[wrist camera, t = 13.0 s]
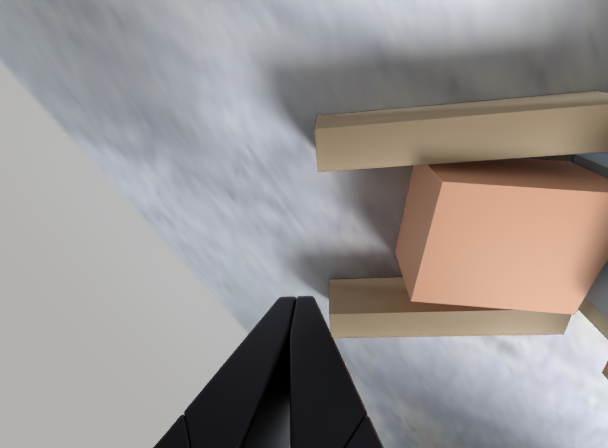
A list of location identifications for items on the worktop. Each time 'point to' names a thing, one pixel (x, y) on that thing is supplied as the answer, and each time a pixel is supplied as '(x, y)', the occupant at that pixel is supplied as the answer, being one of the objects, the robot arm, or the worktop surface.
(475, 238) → the salmon pink cuboid
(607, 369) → the tan wooden block
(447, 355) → the worktop surface
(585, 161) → the pale blue channel
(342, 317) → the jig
